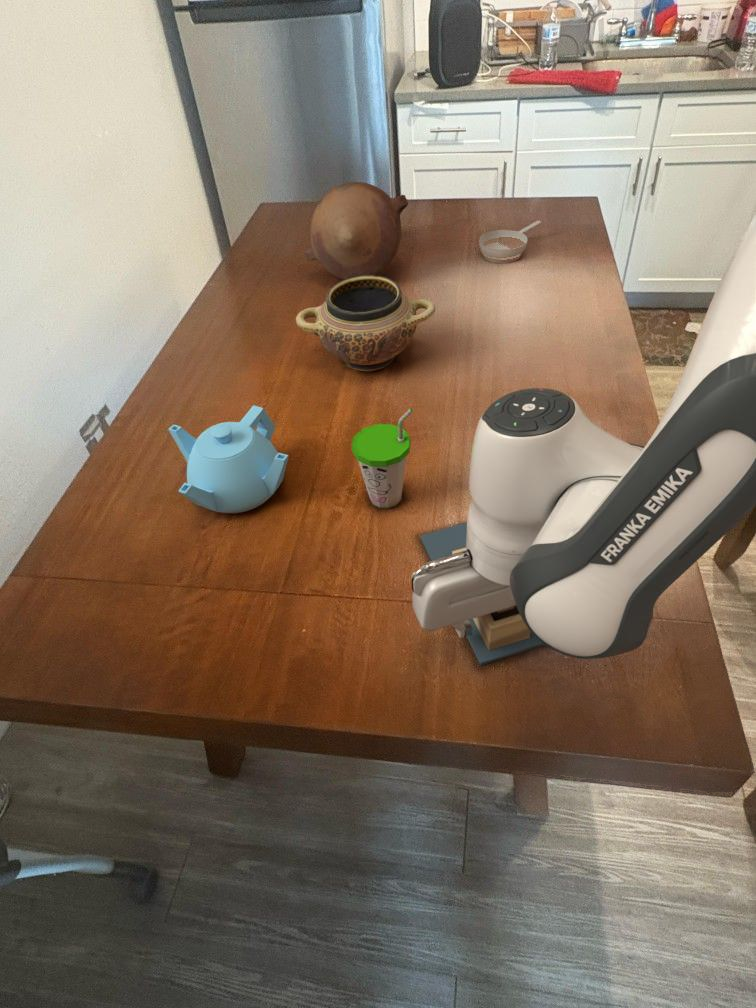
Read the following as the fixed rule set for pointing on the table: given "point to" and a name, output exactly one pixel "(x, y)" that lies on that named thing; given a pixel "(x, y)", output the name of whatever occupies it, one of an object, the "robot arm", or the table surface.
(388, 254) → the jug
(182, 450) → the teapot
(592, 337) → the table surface
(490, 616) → the tile
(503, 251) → the saucepan
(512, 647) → the mat
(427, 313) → the ceramic bowl
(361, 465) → the cup
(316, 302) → the table surface
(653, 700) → the table surface
